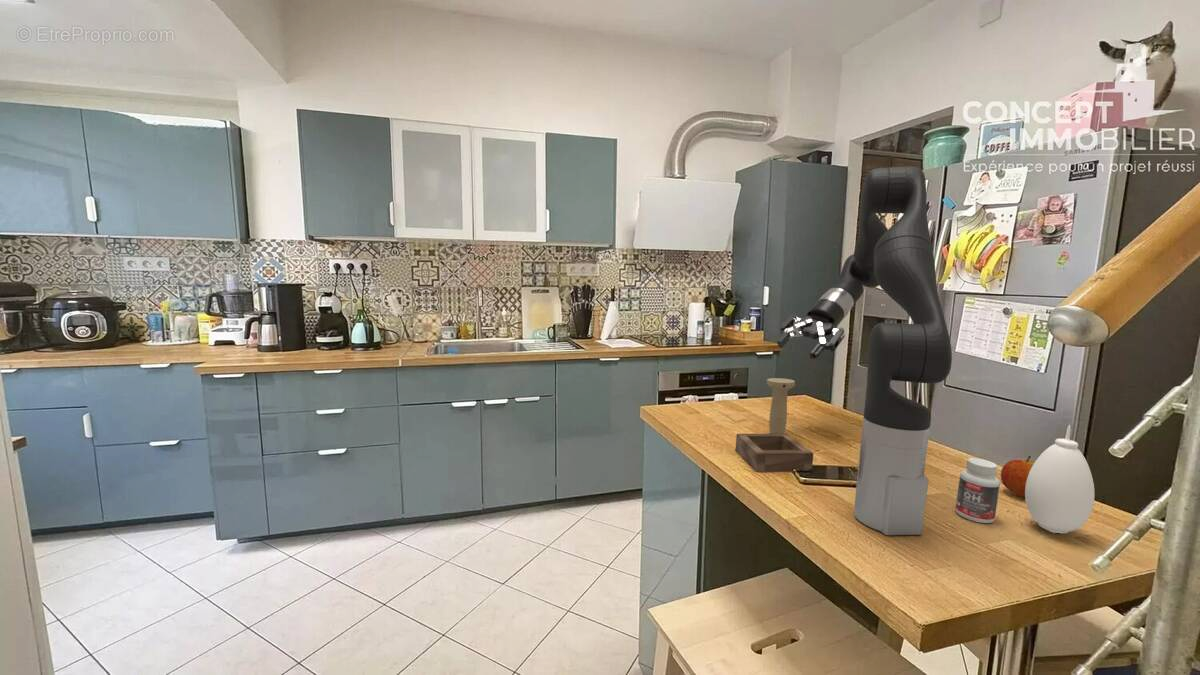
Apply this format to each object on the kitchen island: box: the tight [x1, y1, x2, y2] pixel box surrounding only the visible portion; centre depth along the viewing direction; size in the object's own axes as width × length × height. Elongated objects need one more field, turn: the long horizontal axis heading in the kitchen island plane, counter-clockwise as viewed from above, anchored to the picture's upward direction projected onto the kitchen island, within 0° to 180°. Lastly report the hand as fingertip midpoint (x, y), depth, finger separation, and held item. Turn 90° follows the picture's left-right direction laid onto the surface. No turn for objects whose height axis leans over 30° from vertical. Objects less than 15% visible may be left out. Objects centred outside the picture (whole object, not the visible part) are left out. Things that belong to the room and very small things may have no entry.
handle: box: [766, 377, 796, 434], centre depth 117 cm, size 5×6×15 cm
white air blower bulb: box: [1024, 424, 1095, 534], centre depth 76 cm, size 8×8×18 cm
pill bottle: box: [955, 457, 1001, 524], centre depth 81 cm, size 5×5×10 cm
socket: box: [735, 432, 814, 473], centre depth 104 cm, size 12×12×4 cm
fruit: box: [1000, 455, 1035, 499], centre depth 89 cm, size 7×7×8 cm
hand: (794, 351), depth 115 cm, fingers open, 8 cm apart
